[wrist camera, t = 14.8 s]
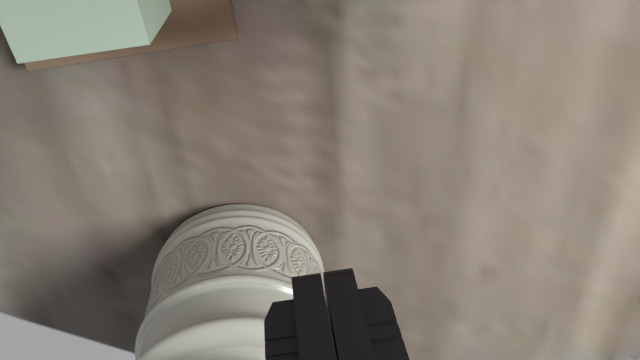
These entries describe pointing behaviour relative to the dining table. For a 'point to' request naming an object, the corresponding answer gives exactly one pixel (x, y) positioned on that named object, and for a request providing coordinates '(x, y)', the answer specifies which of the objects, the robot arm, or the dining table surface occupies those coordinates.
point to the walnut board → (170, 32)
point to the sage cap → (78, 26)
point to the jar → (223, 283)
